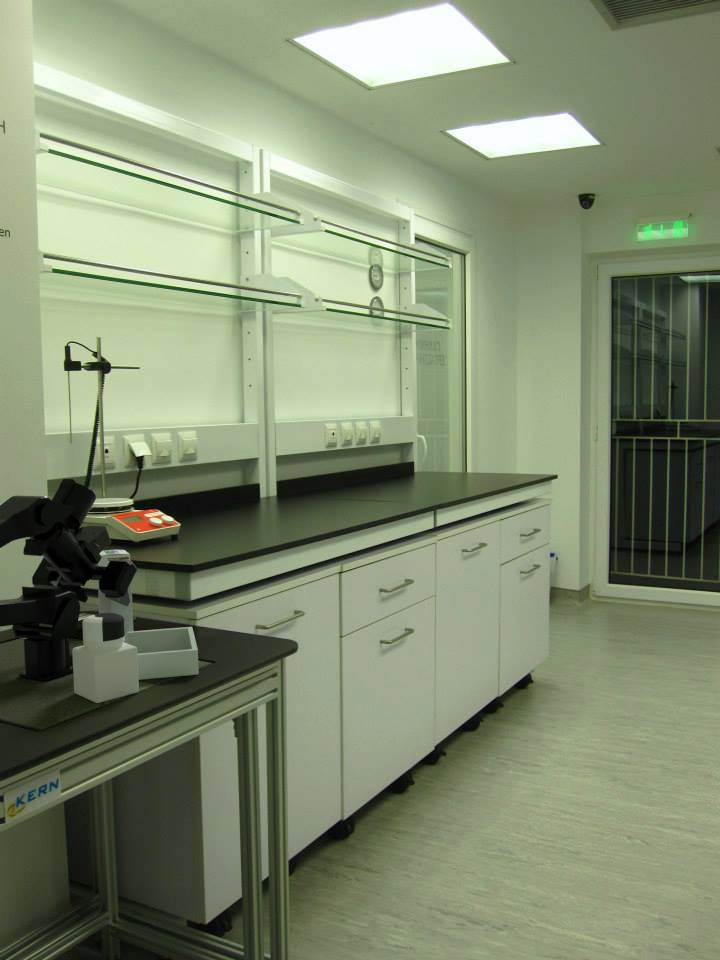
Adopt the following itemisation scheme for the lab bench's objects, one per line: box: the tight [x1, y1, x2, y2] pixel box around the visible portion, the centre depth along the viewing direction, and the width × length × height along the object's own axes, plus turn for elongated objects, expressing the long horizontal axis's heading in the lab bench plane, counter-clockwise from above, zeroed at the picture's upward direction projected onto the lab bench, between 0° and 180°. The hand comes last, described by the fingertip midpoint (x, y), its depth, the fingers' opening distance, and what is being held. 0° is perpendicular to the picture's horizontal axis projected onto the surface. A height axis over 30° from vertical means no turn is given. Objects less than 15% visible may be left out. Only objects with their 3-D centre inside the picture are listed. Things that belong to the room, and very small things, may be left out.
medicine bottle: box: [71, 612, 140, 704], centre depth 136 cm, size 7×7×12 cm
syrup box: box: [97, 549, 131, 614], centre depth 179 cm, size 6×6×14 cm
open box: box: [128, 626, 200, 681], centre depth 151 cm, size 11×16×4 cm
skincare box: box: [97, 580, 134, 644], centre depth 162 cm, size 6×4×12 cm
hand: (107, 602), depth 160 cm, fingers open, 9 cm apart
